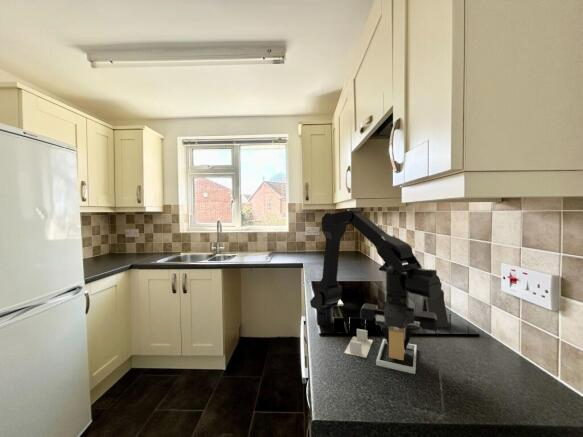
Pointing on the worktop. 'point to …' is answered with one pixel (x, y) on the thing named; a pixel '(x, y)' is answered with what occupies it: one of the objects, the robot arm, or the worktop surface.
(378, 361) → the parts tray
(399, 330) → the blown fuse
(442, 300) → the phone stand
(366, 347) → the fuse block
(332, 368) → the worktop surface
